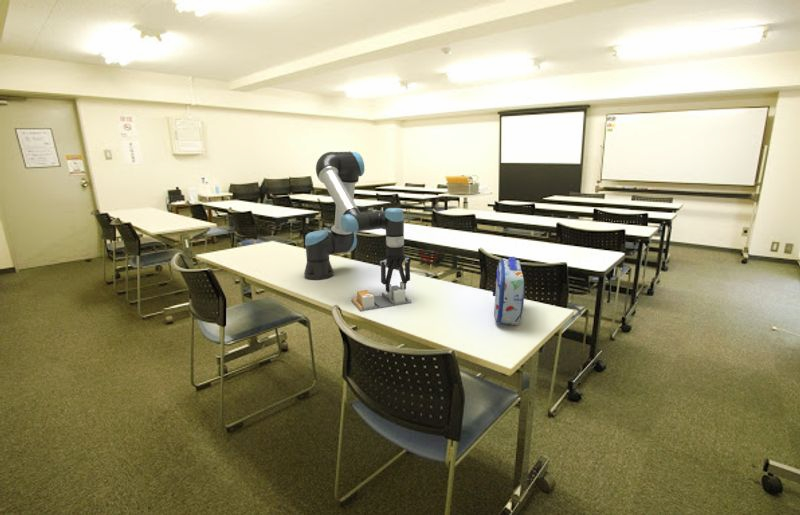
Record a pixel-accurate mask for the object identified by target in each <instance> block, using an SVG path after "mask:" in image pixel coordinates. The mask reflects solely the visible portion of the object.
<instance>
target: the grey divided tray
mask: <svg viewBox="0 0 800 515" xmlns="http://www.w3.org/2000/svg"><path fill="white" fill-rule="evenodd" d="M350 299H351V300H350V301H351V303H352V304H353V305H354V306H355V307H356V308H357V309H358V310H359V311H360V312H365V311H371V310H377V309H378V310H379V309H383V308H389V307H395V306H402V305H406V304H407V305H408V304H412V300H411V298H410V297H408V296H407V295H406V294H405V302H399V303H395V302H394V301H393V300H392V299H390V298H389V297H388V294H386V293H385V292H381V295H376V296H375V295H374V306H375V307H370V308H363V307H362V306H361V305H360V304H359V303H358V302H357V298H355V297H351V298H350Z"/></svg>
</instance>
